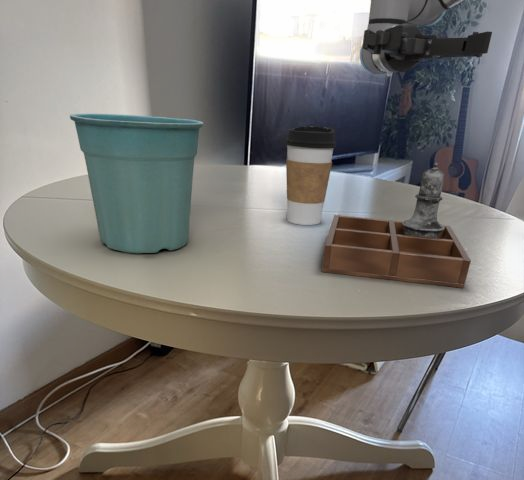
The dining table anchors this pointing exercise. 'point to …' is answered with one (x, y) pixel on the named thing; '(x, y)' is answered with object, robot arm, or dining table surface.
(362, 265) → the tray
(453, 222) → the dining table surface
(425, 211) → the salt shaker
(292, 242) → the dining table surface
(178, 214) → the flower pot
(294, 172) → the coffee cup
